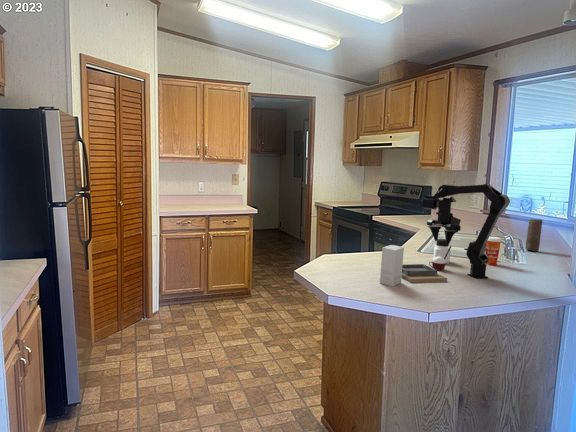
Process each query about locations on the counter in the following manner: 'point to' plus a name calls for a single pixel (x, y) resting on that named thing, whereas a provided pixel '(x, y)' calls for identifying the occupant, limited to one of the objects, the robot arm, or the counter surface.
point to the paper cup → (492, 250)
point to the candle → (533, 234)
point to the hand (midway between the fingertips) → (441, 242)
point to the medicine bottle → (442, 249)
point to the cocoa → (439, 262)
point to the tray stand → (421, 273)
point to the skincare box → (391, 265)
